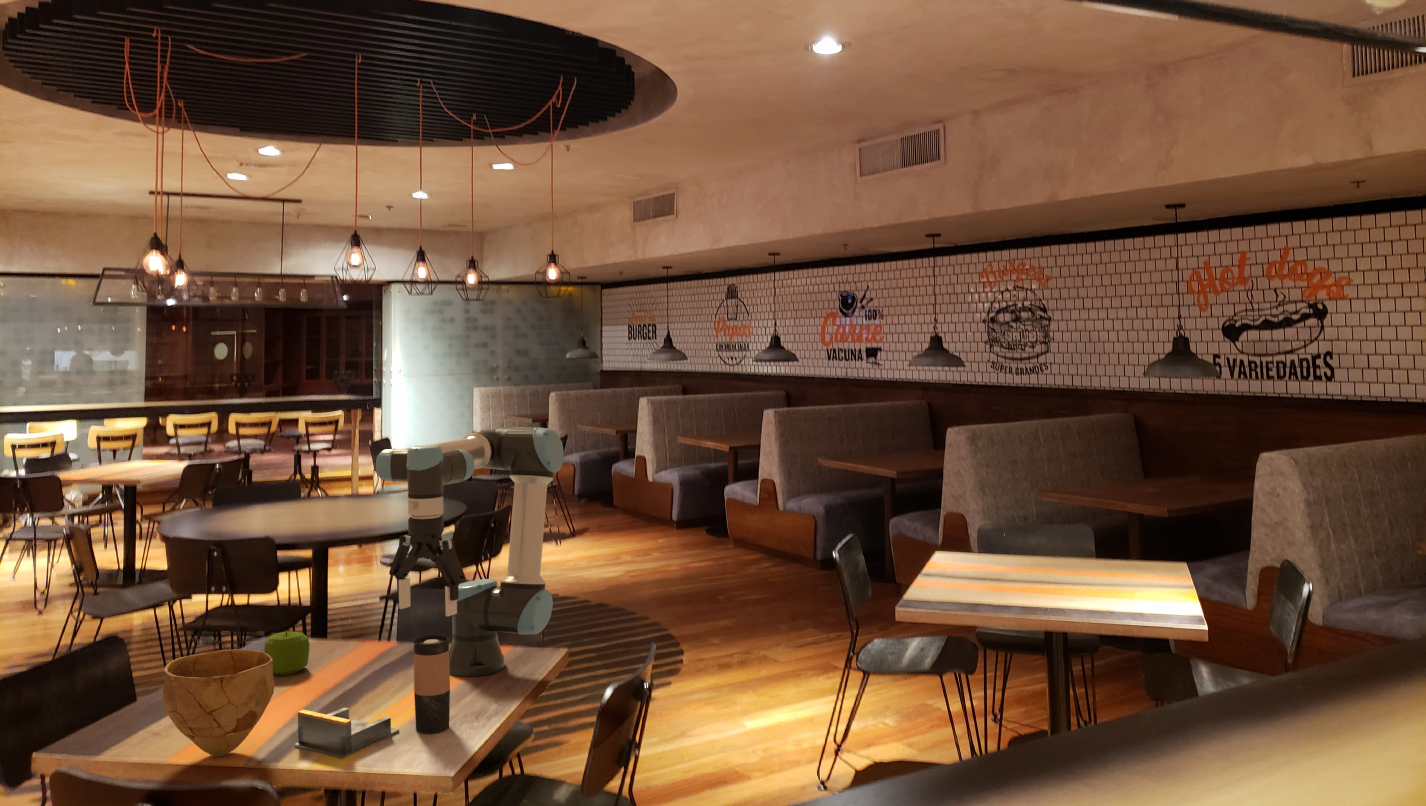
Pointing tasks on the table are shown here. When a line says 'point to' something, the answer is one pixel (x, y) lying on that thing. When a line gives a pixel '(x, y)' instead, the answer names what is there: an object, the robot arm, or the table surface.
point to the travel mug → (431, 684)
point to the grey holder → (339, 732)
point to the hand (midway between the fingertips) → (427, 611)
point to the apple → (287, 652)
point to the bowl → (218, 696)
